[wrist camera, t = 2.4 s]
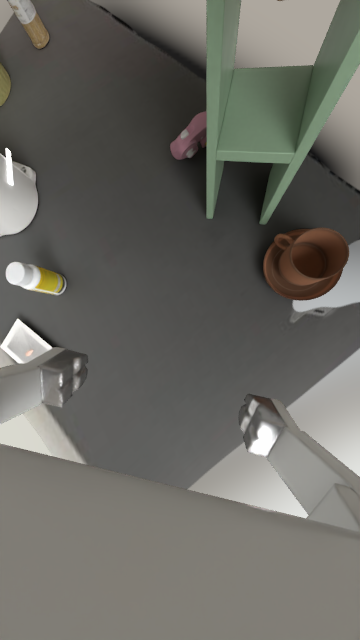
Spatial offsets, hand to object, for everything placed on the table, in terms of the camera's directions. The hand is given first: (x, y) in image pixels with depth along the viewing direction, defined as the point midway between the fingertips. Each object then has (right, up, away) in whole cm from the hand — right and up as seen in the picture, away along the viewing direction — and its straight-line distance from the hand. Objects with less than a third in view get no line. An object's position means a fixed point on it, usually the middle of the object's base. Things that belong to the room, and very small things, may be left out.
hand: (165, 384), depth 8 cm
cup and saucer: (+21, +12, +21) cm, 32 cm away
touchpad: (-31, -4, +29) cm, 43 cm away
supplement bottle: (-26, +11, +29) cm, 41 cm away
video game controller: (+4, +37, +25) cm, 45 cm away
